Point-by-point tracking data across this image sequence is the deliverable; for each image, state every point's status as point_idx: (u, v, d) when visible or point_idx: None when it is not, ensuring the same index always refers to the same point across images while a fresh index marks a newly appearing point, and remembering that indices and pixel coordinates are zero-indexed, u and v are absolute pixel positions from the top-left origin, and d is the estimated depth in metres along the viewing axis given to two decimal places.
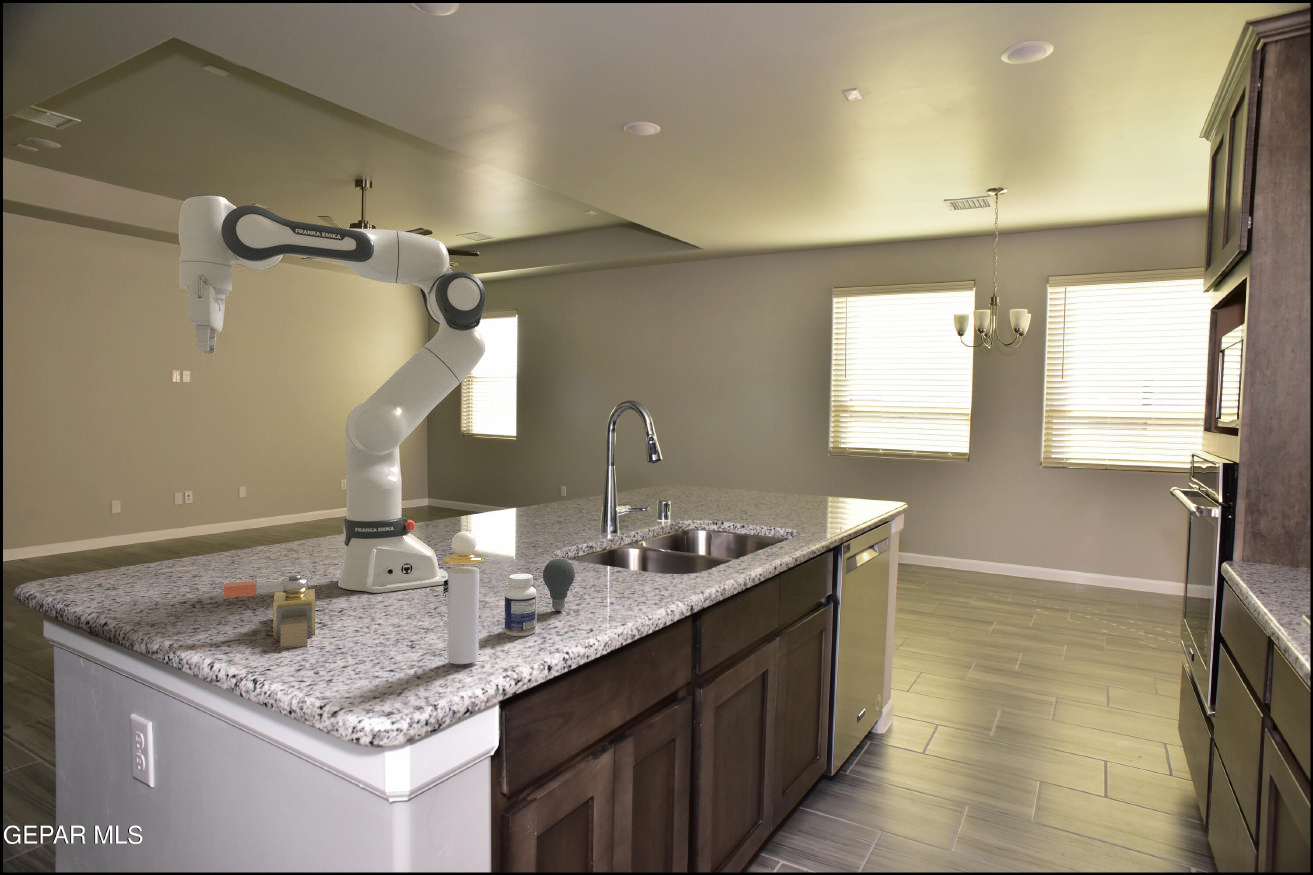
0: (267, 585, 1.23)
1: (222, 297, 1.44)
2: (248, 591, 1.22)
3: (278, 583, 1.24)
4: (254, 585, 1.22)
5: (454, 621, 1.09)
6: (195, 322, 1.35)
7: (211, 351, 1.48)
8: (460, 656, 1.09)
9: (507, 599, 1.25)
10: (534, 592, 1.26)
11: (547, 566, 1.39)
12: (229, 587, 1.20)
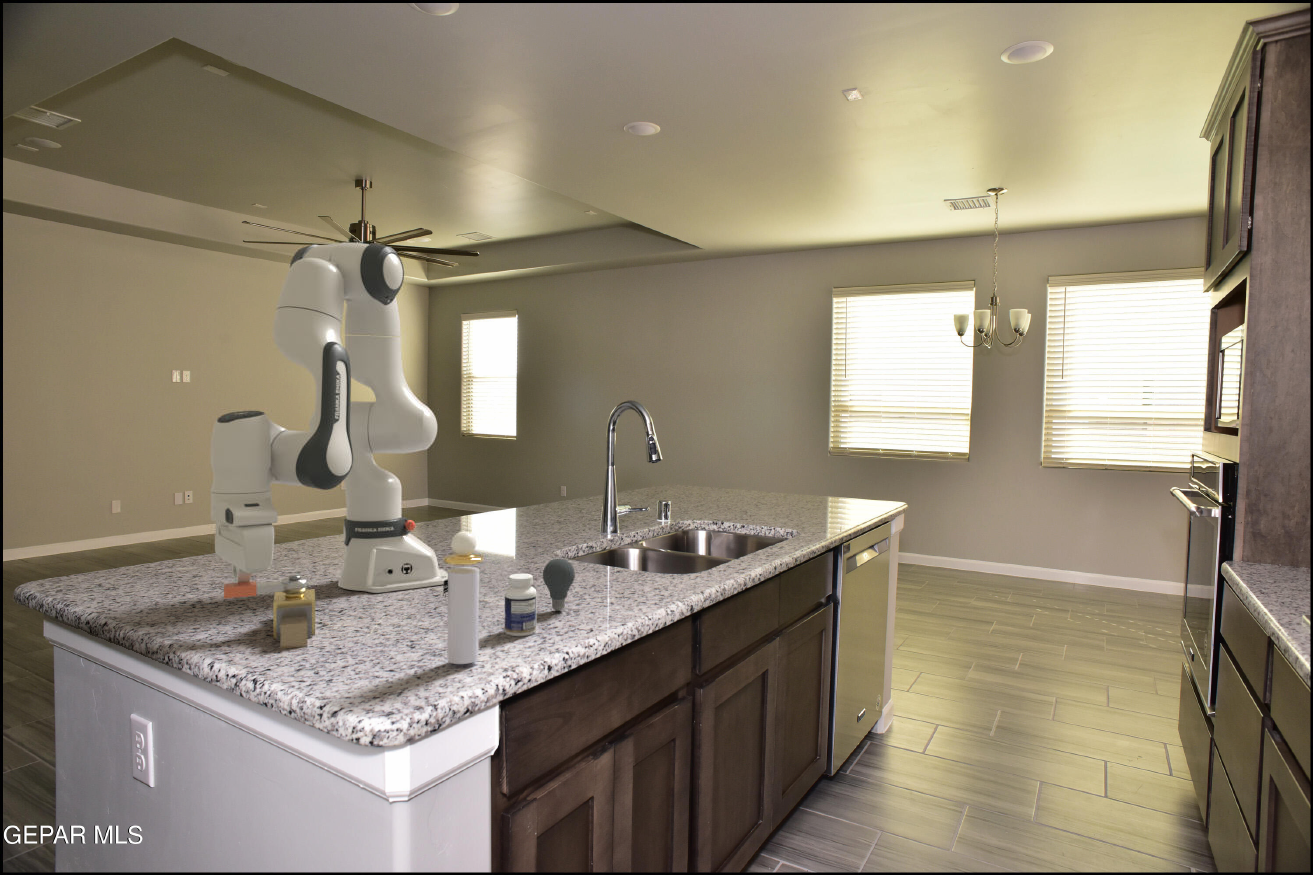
0: (267, 585, 1.23)
1: None
2: (248, 592, 1.21)
3: (278, 583, 1.24)
4: (254, 585, 1.22)
5: (453, 622, 1.09)
6: None
7: None
8: (460, 656, 1.09)
9: (507, 599, 1.25)
10: (534, 592, 1.26)
11: (547, 566, 1.39)
12: (229, 588, 1.20)
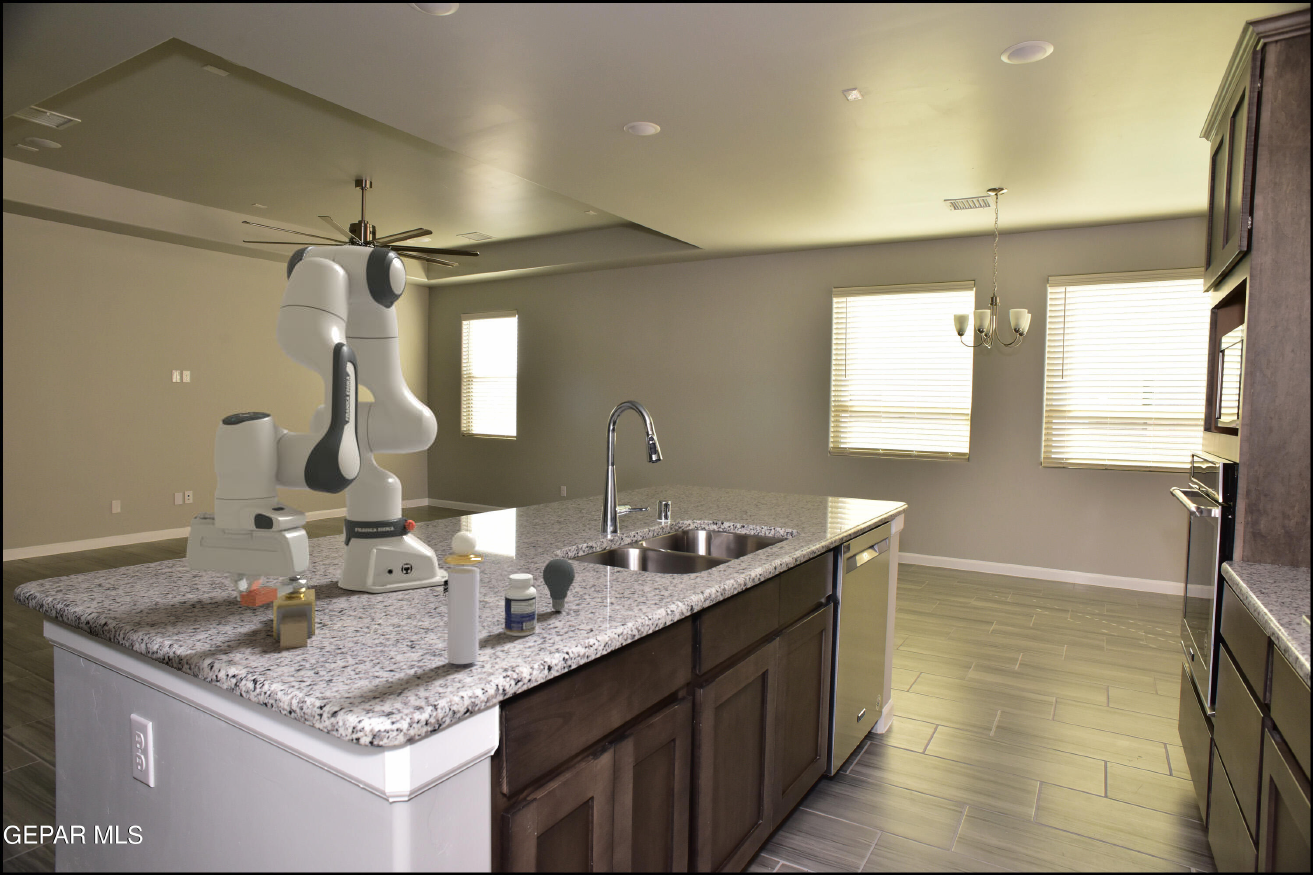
0: (282, 588, 1.22)
1: (226, 536, 1.16)
2: (272, 596, 1.19)
3: (287, 585, 1.23)
4: (276, 589, 1.20)
5: (454, 621, 1.09)
6: None
7: None
8: (460, 656, 1.09)
9: (507, 599, 1.25)
10: (534, 592, 1.26)
11: (547, 566, 1.39)
12: (259, 594, 1.16)
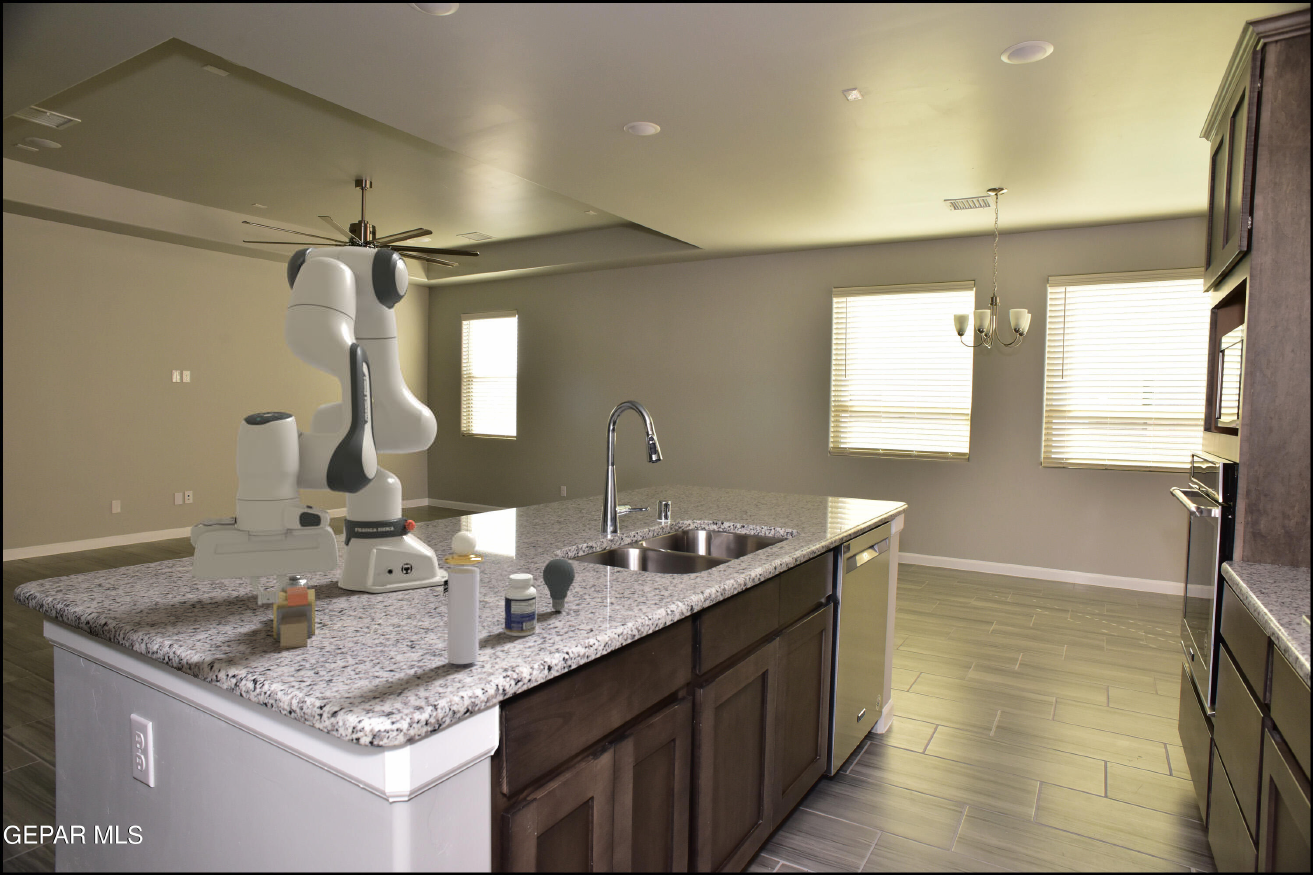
0: (302, 586, 1.23)
1: (258, 539, 1.13)
2: None
3: (299, 584, 1.24)
4: (306, 587, 1.21)
5: (454, 621, 1.09)
6: None
7: None
8: (460, 656, 1.09)
9: (507, 599, 1.25)
10: (534, 592, 1.26)
11: (547, 566, 1.39)
12: (307, 592, 1.18)
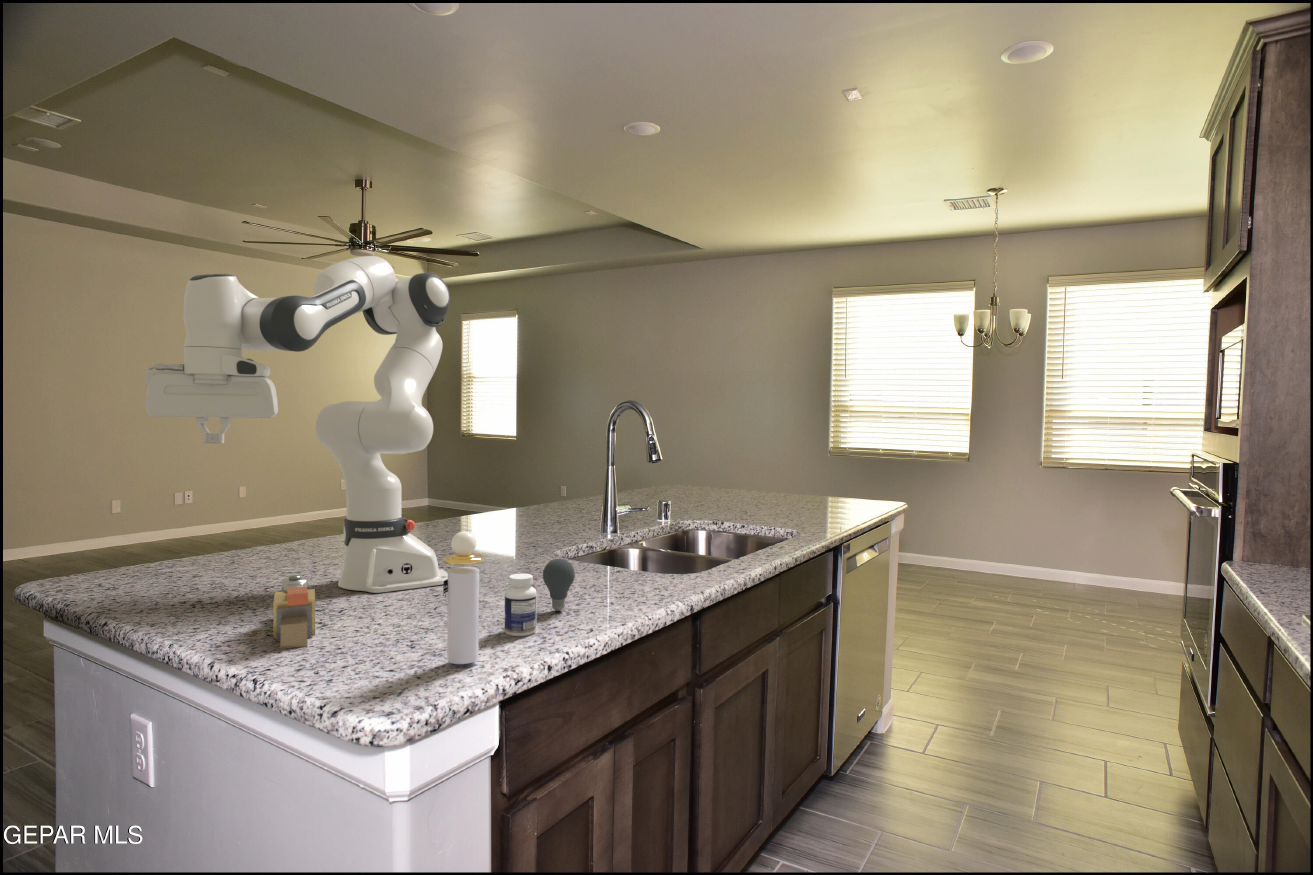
0: (302, 586, 1.23)
1: (201, 382, 1.28)
2: None
3: (299, 584, 1.24)
4: (306, 587, 1.21)
5: (453, 622, 1.09)
6: None
7: None
8: (460, 656, 1.09)
9: (507, 599, 1.25)
10: (534, 592, 1.26)
11: (547, 566, 1.39)
12: (307, 592, 1.18)
